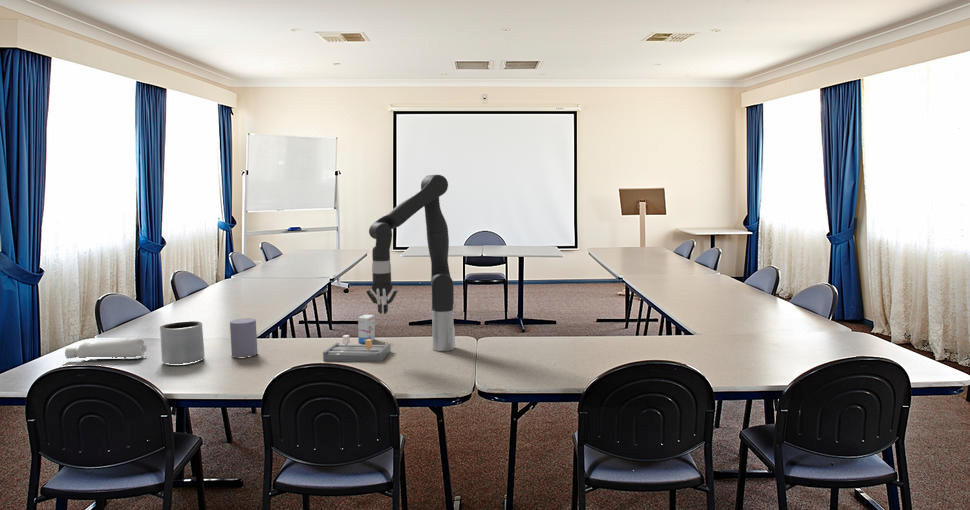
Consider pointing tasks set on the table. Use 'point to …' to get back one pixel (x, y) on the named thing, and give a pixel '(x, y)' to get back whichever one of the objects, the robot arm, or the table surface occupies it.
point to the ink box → (366, 328)
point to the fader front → (368, 344)
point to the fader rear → (346, 340)
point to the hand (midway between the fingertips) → (383, 313)
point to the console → (356, 353)
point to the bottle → (109, 349)
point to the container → (243, 337)
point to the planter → (182, 342)
